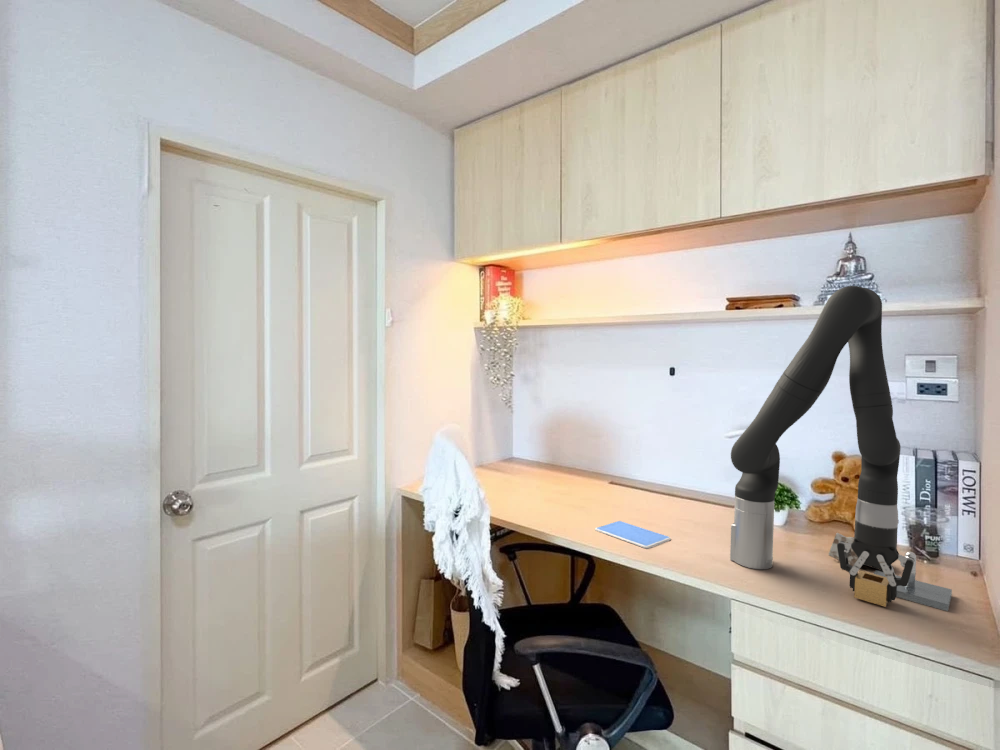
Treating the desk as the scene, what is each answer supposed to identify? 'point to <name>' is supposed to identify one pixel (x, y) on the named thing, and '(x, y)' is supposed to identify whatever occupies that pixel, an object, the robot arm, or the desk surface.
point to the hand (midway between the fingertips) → (872, 595)
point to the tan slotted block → (871, 588)
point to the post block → (922, 590)
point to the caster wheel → (851, 554)
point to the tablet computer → (633, 534)
